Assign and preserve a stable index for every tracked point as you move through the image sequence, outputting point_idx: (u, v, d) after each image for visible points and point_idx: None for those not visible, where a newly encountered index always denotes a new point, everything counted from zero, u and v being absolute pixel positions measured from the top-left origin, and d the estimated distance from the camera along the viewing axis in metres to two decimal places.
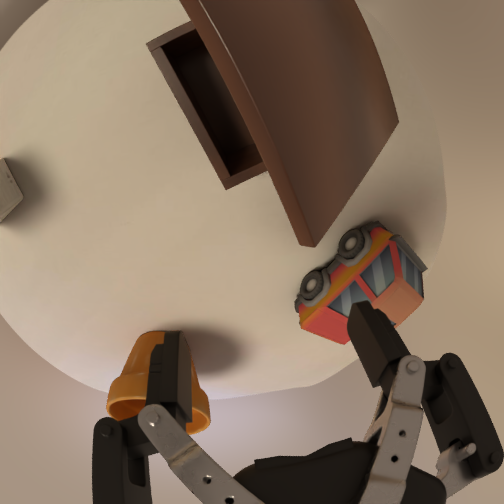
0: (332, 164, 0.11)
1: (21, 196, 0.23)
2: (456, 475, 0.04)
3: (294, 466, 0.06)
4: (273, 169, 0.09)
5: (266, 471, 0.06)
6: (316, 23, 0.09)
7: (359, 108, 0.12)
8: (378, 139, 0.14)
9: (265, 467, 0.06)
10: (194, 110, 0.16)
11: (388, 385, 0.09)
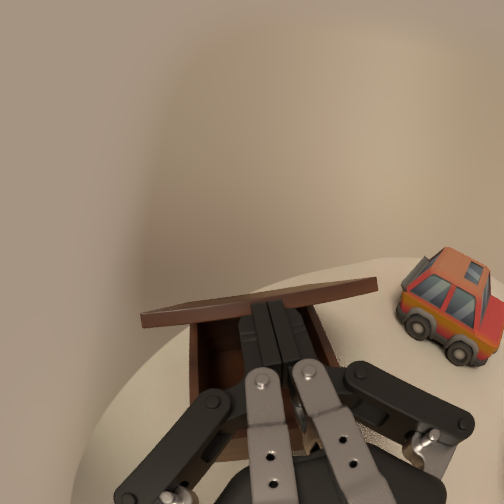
0: None
1: None
2: (435, 458, 0.05)
3: (294, 466, 0.06)
4: (319, 297, 0.13)
5: None
6: (225, 299, 0.19)
7: None
8: (315, 284, 0.23)
9: None
10: None
11: (290, 387, 0.10)
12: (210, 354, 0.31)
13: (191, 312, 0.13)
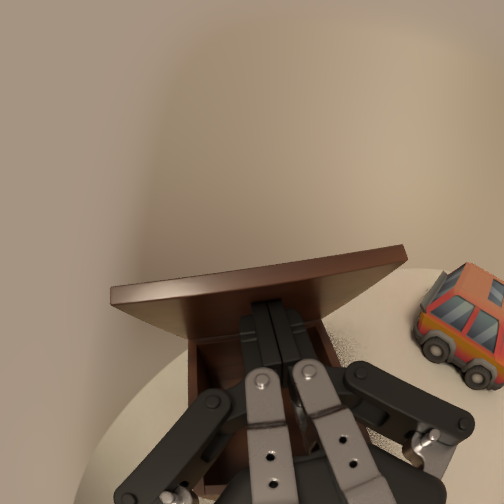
0: None
1: None
2: (435, 458, 0.05)
3: (294, 466, 0.06)
4: (337, 265, 0.10)
5: None
6: None
7: None
8: None
9: None
10: None
11: (290, 387, 0.10)
12: (211, 383, 0.27)
13: (172, 284, 0.10)
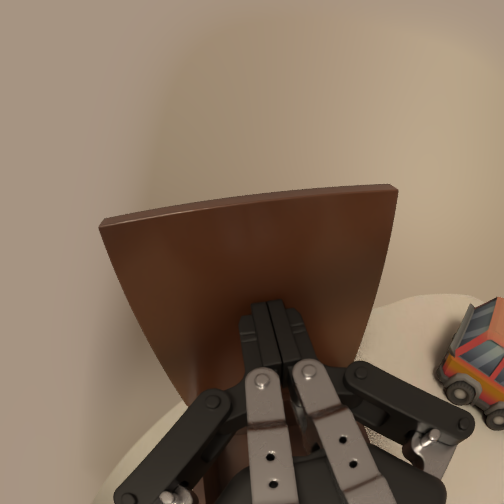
0: None
1: None
2: (435, 458, 0.05)
3: (294, 466, 0.06)
4: (325, 191, 0.10)
5: None
6: None
7: None
8: None
9: None
10: None
11: (290, 387, 0.10)
12: None
13: (162, 208, 0.10)
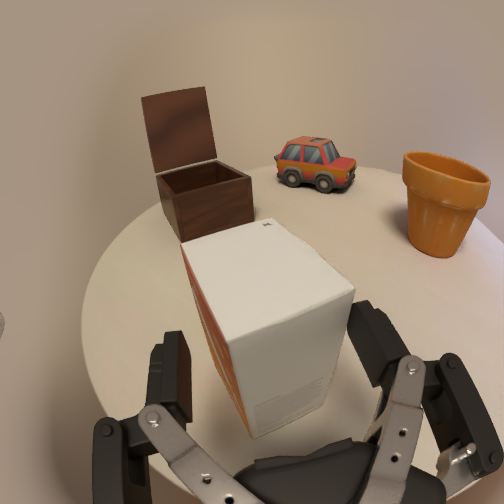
0: None
1: None
2: (456, 475, 0.04)
3: (294, 466, 0.06)
4: (187, 89, 0.44)
5: (266, 471, 0.06)
6: None
7: None
8: None
9: (265, 467, 0.06)
10: (211, 185, 0.39)
11: (388, 385, 0.09)
12: None
13: None
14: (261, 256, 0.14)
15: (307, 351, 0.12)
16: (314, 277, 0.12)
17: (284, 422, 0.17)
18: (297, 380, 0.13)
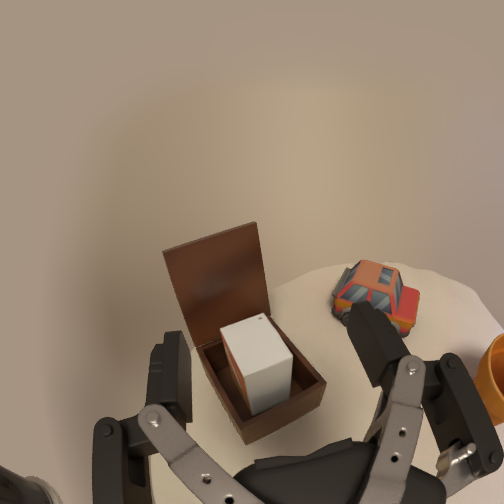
0: None
1: None
2: (456, 476, 0.04)
3: (294, 466, 0.06)
4: (231, 229, 0.34)
5: (266, 471, 0.06)
6: None
7: None
8: None
9: (265, 467, 0.06)
10: (282, 403, 0.29)
11: (388, 385, 0.09)
12: None
13: (183, 244, 0.32)
14: (256, 339, 0.31)
15: (274, 377, 0.30)
16: (277, 351, 0.30)
17: (268, 408, 0.34)
18: (271, 388, 0.31)
